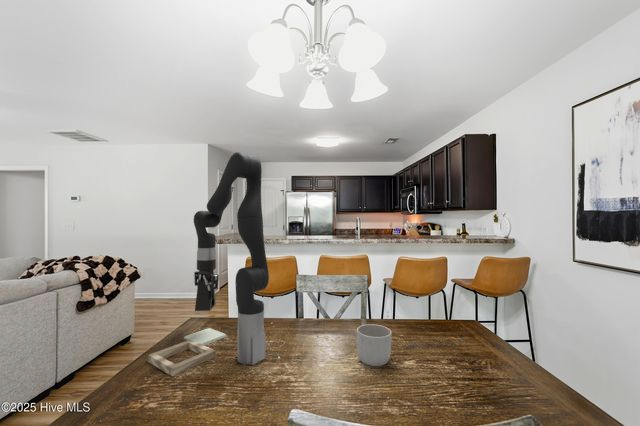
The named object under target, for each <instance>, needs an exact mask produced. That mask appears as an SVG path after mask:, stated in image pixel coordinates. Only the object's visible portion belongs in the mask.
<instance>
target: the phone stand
mask: <svg viewBox="0 0 640 426" xmlns="http://www.w3.org/2000/svg"><path fill="white" fill-rule="evenodd" d="M211 281H212V280H211ZM211 281H210V282H208V283H211ZM197 283H198V288H197V289H196V298H195V306H194V311H195V312H210V311H212V309H213V308H214V307H215V306H216V293H215V290H216V289H215V290H214V298H213V299H211V298H210V300H209V299H208V291H209V290H208V287H207V286H206V284H205V281H204V280H197ZM210 287H211V285H210Z"/></svg>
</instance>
